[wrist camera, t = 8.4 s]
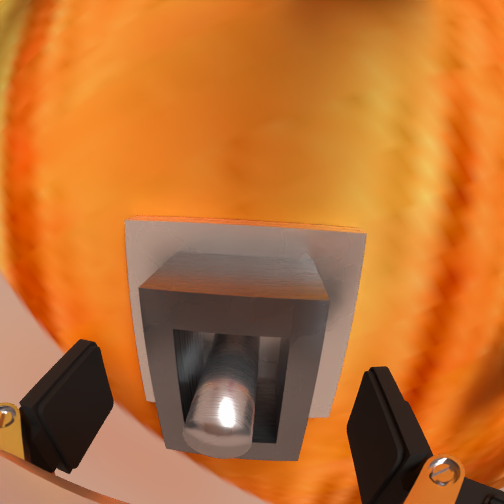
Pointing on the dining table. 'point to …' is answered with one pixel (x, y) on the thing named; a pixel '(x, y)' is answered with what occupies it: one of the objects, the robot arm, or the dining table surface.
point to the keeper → (241, 346)
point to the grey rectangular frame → (236, 323)
